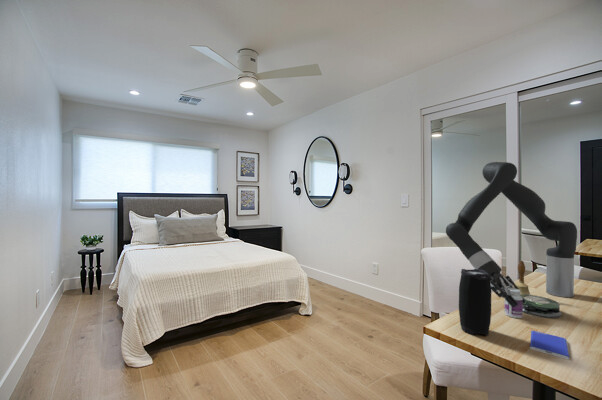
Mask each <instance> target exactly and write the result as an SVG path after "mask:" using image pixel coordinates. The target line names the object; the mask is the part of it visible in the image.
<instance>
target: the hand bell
mask: <svg viewBox="0 0 602 400" xmlns="http://www.w3.org/2000/svg"><path fill="white" fill-rule="evenodd" d="M517 271H518V276H519V279H518V281H519V282H517V283H515V284H516V286H517V287H518V288H519V289H518V290H520V294H526V295H532V294H531V293H530V290H529V285H527V284H526V283H525V277H524V276H525V273H526V265H525V262H524V260H519V262H518V265H517Z"/></svg>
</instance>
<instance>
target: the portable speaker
mask: <svg viewBox="0 0 602 400" xmlns="http://www.w3.org/2000/svg"><path fill="white" fill-rule="evenodd" d="M459 279H460V280H459V286H458V315H459V323H460V327H461V328H460V329H461V330H462V331H463V332H465V333H466V334H468V335H471V336H473V335H475V334H483V336H485V337H486V336H488V335H489V334H490V333H489V332H490V328H491V327H490V326H491V322H492V321H491V319H492V290H491V284H490V277H489V275H488V273H487V272H486V271H484V270H480V269H475V268H474V269H465V268H462V269H461V271H460V278H459Z"/></svg>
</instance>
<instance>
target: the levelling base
mask: <svg viewBox="0 0 602 400" xmlns="http://www.w3.org/2000/svg"><path fill="white" fill-rule="evenodd" d="M520 295H521V296H522V297H523V298H524V300H525V302H524V303H523V313H524V314H526V315H531V316H534V317H539V318H546V319H558V318H562V311H561V310H560V309H561V308H560V303H559V302H558V301H556V300H554V299H551V298H547V297H544V296H540V295H534V294H531V295H526V294H520Z"/></svg>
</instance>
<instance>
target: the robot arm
mask: <svg viewBox="0 0 602 400" xmlns="http://www.w3.org/2000/svg"><path fill="white" fill-rule="evenodd" d="M517 174H518V169H517V166H516V165H515V164H514V163H512V162H508V161H493V162H489V163H486V164H485V165H484V166H483V168H482V176H483V178H484V180H485V181H486V182H488V185H487V186H486V187H485V188H484V189H483V190H482V191H480V192H479V193H477V194H476V195H474V196H473V197H471V198H470V199H469V200H468V201H467V202H466V203H465V205H463V207H462V209H461V210H460V212H459V213H458V215H457V220H456V221H455V222H451V223H449V224H447V226H446V227H445V233H446V235H447V237H448V239H449V240H450V241H452V242H453V243H454V244H455V245H456V247H458V248H459V251H461V253H462V255H463V256H464V257H465V258H466V260H468V262H469V263H470V264H471V266H472V267H473V268H474V269H480V270H484V271H486V272H487V273H488V275H489V277H490V284H491V292H493V293H495V295H496V296H497V297H498V298H503V299H504V300H505V299H506V300H507V302H508V303H509V304H510V305H511V306H512V307H515V306H517V305H518V303H517V302H516V301H515V300H514V298H513V297H512V296H511V295H510V294H509V293H508V291H507V288H515V289H519V288H518V287H517V286H516V284H517V283H515V282H514V280H513V279H512V278H511V277H510V276H509V275H506V276H504V275H503V274H502V273H501V272H502V270H503V268H501V267H500V265H499V264H498V263H497V262H496V261H495V260H494V259H493V258H492V257H491V256H490V255H489V254H488V253H487V252H486V251H485V250H484V249H483V248H482V247H481V246H480V245H479V244H478V243H477V241H475V240H474V239H473V238H472V237H471V234H470V231H471V229H472V228H473V225H474V224H475V223H476V221H477V220H478V219H479V218H480V217H481V215H482V213H483V212H484V211H485V210H486V208H488V206H489V205H490V204H491V203H492V202H493V201H494V200H495V199H496V197H497V198H498V196H499V195H501V193H502V195H503V196H504V197H506V199H507V200H509V201H510V202H511V203H512V204H513V205H514V206H515V207H516V209H518V210H519V211H520V212H521V213H522V214H524V216H525V217H526V218H527V219H529V221H530V222H531V223H532V224H533V225H534V226H535V227H536V229H537V230H538V231H539V233H540V234H541V235H542V236H543V237H544V238H545V239H546V240H548V241H554V242H557V243H558V244H557V246H555V247H550V248H547V249H546V260H545V261H546V263H545V264H546V265H545V266H546V269H545V270H546V272H545V274H546V275H545V281H546V282H545V292H546V293H547V294H549V295H553V296H556V297H562V298H574V295H575V293H574V291H575V290H574V288H575V253H576V251H577V240H578V230H577V229H578V228H577V226H576V224H575V223H574V222H572V221H565V220H564V221H562V220H554V219H552V218H550V217H549V216H548V215H547V214H546V203H545V201H544V200H543V198H542V197H541V196H540V195H539V194H538V193H537V192H535V191H534V190H532V189H531V188H529V187H527V186H525V185H523V184H521V183H520V182H518V181H516V180H515V179H516V177H517ZM520 296H521V295H520ZM521 297H522V296H521ZM522 298H523V297H522ZM524 302H525V300H524V298H523V303H524Z"/></svg>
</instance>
